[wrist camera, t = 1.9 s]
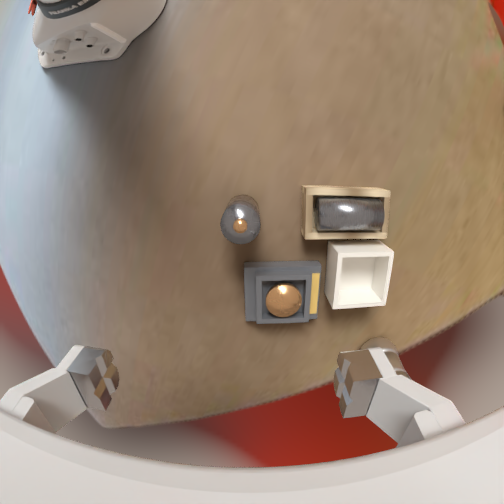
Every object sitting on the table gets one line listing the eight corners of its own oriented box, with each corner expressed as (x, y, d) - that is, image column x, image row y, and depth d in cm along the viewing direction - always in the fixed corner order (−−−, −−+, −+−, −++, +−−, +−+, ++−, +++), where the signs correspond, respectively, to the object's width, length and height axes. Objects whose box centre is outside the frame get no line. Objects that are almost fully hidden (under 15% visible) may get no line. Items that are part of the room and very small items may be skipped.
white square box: (324, 291, 40) (332, 309, 36) (328, 240, 38) (338, 252, 33) (372, 289, 40) (385, 305, 36) (378, 240, 38) (394, 251, 33)
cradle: (245, 313, 42) (245, 327, 38) (244, 262, 39) (243, 272, 36) (314, 311, 42) (319, 324, 38) (318, 260, 39) (324, 270, 36)
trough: (301, 232, 38) (305, 239, 35) (301, 185, 36) (306, 188, 33) (377, 232, 38) (386, 238, 35) (380, 188, 36) (390, 191, 33)
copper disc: (265, 314, 38) (265, 317, 37) (265, 283, 37) (265, 285, 36) (299, 313, 38) (300, 316, 37) (301, 282, 37) (302, 284, 36)
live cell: (313, 226, 37) (320, 234, 33) (314, 195, 35) (322, 199, 31) (374, 226, 36) (387, 234, 33) (376, 196, 35) (390, 201, 31)
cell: (227, 225, 37) (220, 246, 29) (226, 195, 36) (218, 207, 28) (258, 225, 37) (260, 245, 29) (258, 194, 36) (260, 205, 28)
